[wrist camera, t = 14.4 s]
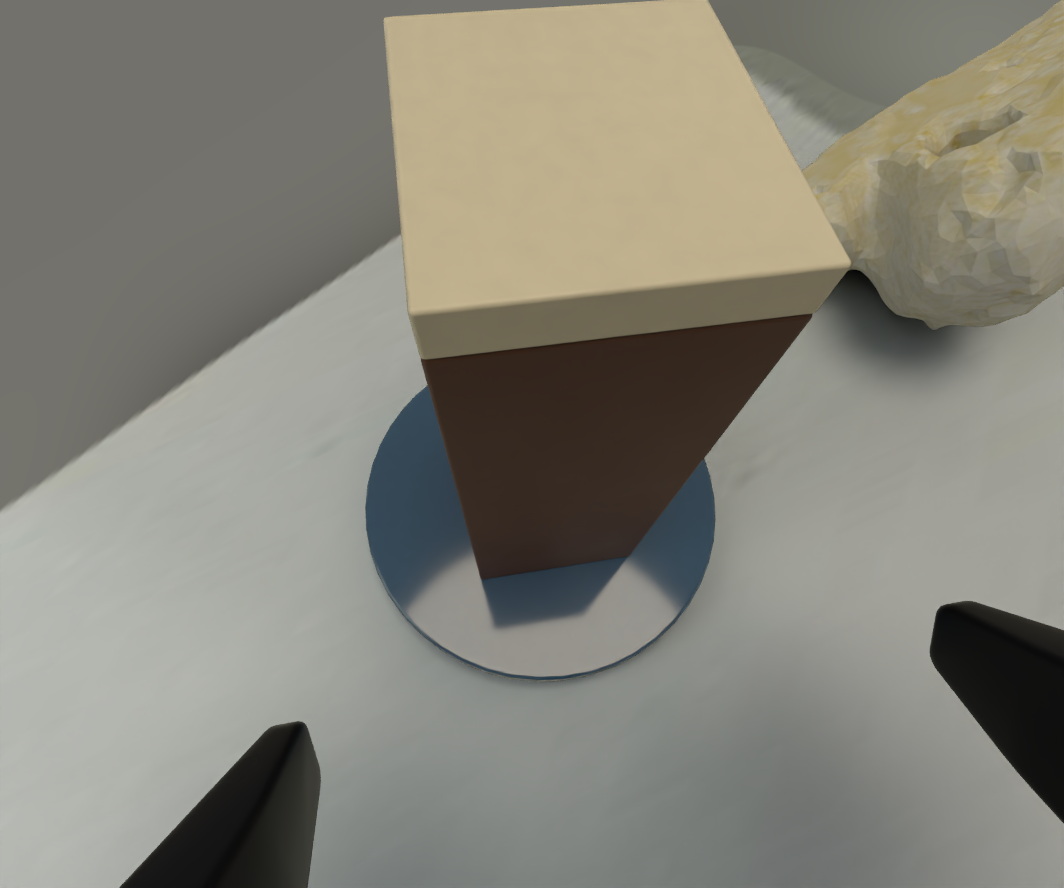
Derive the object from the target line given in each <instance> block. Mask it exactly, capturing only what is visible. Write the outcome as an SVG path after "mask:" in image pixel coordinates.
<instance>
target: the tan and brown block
mask: <svg viewBox="0 0 1064 888" xmlns="http://www.w3.org/2000/svg"><path fill="white" fill-rule="evenodd" d="M384 34H385V45H386V58H387V69H388V81H389V93H390V105H391V116H392V129H393V140H394V153H395V165H396V175H397V188H398V200H399V212H400V224H401V236H402V248H403V260H404V272H405V284H406V295H407V307H408V315H409V319H410V322H411V326H412V330H413V333H414V337H415V341H416V344H417V348H418V352H419V355H420V357H421V362H422V366H423V370H424V373H425V377H426V381H427V384H428V388H429V392H430V395H431V399H432V403H433V406H434V410H435V414H436V417H437V421H438V425H439V428H440V432H441V436H442V439H443V443H444V447H445V450H446V454H447V458H448V461H449V465H450V469H451V472H452V476H453V480H454V483H455V487H456V491H457V494H458V498H459V502H460V505H461V509H462V513H463V516H464V520H465V524H466V527H467V531H468V535H469V538H470V542H471V546H472V549H473V553H474V557H475V560H476V564H477V567H478V571H479V575H480V578H481V579H489V578H495V577H502V576H508V575H514V574H520V573H527V572H533V571H539V570H545V569H552V568H558V567H564V566H570V565H577V564H583V563H589V562H596V561H602V560H608V559H614V558H621V557H627V556H630V554H631V553H632V552H633V550H634V549H635V548H636V546H637V545H638V544H639V543H640V541H641V540H642V539H643V537H644V536H645V535H646V533H647V532H648V531H649V530H650V528H651V527H652V526H653V524H654V523H655V522H656V520H657V519H658V518H659V516H660V515H661V514H662V513H663V511H664V510H665V509H666V507H667V506H668V505H669V503H670V502H671V501H672V499H673V498H674V497H675V496H676V494H677V493H678V492H679V490H680V489H681V488H682V486H683V485H684V484H685V482H686V481H687V480H688V479H689V477H690V476H691V475H692V473H693V472H694V471H695V469H696V468H697V467H698V465H699V464H700V463H701V462H702V460H703V459H704V458H705V456H706V455H707V454H708V452H709V451H710V450H711V448H712V447H713V446H714V445H715V443H716V442H717V441H718V439H719V438H720V437H721V435H722V434H723V433H724V432H725V430H726V429H727V428H728V426H729V425H730V424H731V422H732V421H733V420H734V418H735V417H736V416H737V415H738V413H739V412H740V411H741V409H742V408H743V407H744V405H745V404H746V403H747V401H748V400H749V399H750V398H751V396H752V395H753V394H754V392H755V391H756V390H757V388H758V387H759V386H760V384H761V383H762V382H763V381H764V379H765V378H766V377H767V375H768V374H769V373H770V371H771V370H772V369H773V367H774V366H775V365H776V364H777V362H778V361H779V360H780V358H781V357H782V356H783V354H784V353H785V352H786V350H787V349H788V348H789V347H790V345H791V344H792V343H793V341H794V340H795V339H796V337H797V336H798V335H799V334H800V332H801V331H802V330H803V328H804V327H805V326H806V324H807V323H808V322H809V320H810V319H811V318H812V313H814V312H816V311H817V310H818V309H819V307H820V306H821V305H822V304H823V302H824V301H825V300H826V298H827V297H828V296H829V294H830V293H831V292H832V290H833V289H834V288H835V287H836V285H837V284H838V283H839V281H840V280H841V279H842V277H843V276H844V275H845V273H846V272H847V271H848V270H849V268H850V267H851V260H850V259H849V257H848V255H847V253H846V251H845V250H844V248H843V246H842V244H841V242H840V240H839V239H838V237H837V235H836V233H835V231H834V229H833V228H832V226H831V224H830V222H829V220H828V219H827V217H826V215H825V213H824V211H823V209H822V208H821V206H820V204H819V202H818V200H817V198H816V197H815V195H814V193H813V191H812V189H811V188H810V186H809V184H808V182H807V180H806V178H805V177H804V175H803V173H802V171H801V169H800V167H799V166H798V164H797V162H796V160H795V158H794V157H793V155H792V153H791V151H790V149H789V147H788V146H787V144H786V142H785V140H784V138H783V136H782V135H781V133H780V131H779V129H778V127H777V126H776V124H775V122H774V120H773V118H772V116H771V115H770V113H769V111H768V109H767V107H766V106H765V104H764V102H763V100H762V98H761V96H760V95H759V93H758V91H757V89H756V87H755V85H754V84H753V82H752V80H751V78H750V76H749V75H748V73H747V71H746V69H745V67H744V65H743V64H742V62H741V60H740V58H739V56H738V54H737V53H736V51H735V49H734V47H733V45H732V44H731V42H730V40H729V38H728V36H727V34H726V33H725V31H724V29H723V27H722V25H721V24H720V22H719V20H718V18H717V16H716V14H715V13H714V11H713V9H712V7H711V5H710V4H709V2H708V0H665V1H648V2H631V3H616V4H615V3H614V4H597V5H580V6H563V7H547V8H531V9H530V8H529V9H513V10H497V11H479V12H462V13H445V14H429V15H411V16H395V17H386V18H385V19H384Z"/></svg>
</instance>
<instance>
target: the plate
mask: <svg viewBox="0 0 1064 888" xmlns="http://www.w3.org/2000/svg"><path fill="white" fill-rule="evenodd" d="M365 510H366V531H367V536H368V541H369V547H370V552H371V555H372V558H373V561H374V564H375V567H376V570H377V573H378V575H379V577H380V579H381V581H382V583H383V585H384V587H385V589H386V591H387V593H388V595H389V596H390V598H391V599H392V601H393V602H394V603H395V605H396V606H397V608H398V609H399V610H400V612H401V613H402V615H403V616H404V617H405V618H406V619H407V620H408V621H409V622H410V623H411V624H412V625H413V626H414V627H415V629H416V630H417V631H418V632H419V633H420V634H422V635H423V636H424V637H425V638H427V639H428V640H429V641H430V642H432V643H433V644H434V645H435V646H437V647H438V648H439V649H441V650H442V651H443V652H445V653H446V654H448V655H450V656H452V657H453V658H455V659H457V660H458V661H460V662H462V663H464V664H465V665H468V666H470V667H473V668H475V669H478V670H480V671H483V672H485V673H488V674H491V675H495V676H499V677H504V678H508V679H512V680H521V681H531V682H550V681H564V680H570V679H575V678H580V677H586V676H588V675H591V674H594V673H597V672H600V671H603V670H606V669H609V668H611V667H614V666H616V665H618V664H620V663H622V662H624V661H626V660H628V659H630V658H632V657H634V656H636V655H637V654H639V653H640V652H641V651H643V650H644V649H646V648H647V647H648V646H650V645H651V644H653V643H654V642H655V641H657V640H658V639H659V638H660V637H661V636H662V635H663V634H664V633H665V632H666V631H667V630H668V629H669V628H670V627H671V626H672V625H673V624H675V622H676V621H677V620H678V618H679V617H680V616H681V614H682V613H683V612H684V611H685V609H686V608H687V607H688V605H689V604H690V602H691V600H692V599H693V597H694V595H695V593H696V591H697V590H698V588H699V586H700V584H701V582H702V579H703V576H704V574H705V571H706V569H707V566H708V563H709V559H710V555H711V550H712V546H713V542H714V530H715V504H714V494H713V489H712V484H711V479H710V475H709V472H708V469H707V466H706V463H705V460H704V459H703V460H702V462H701V463H700V464H699V465H698V467H697V468H696V469H695V471H694V472H693V473H692V475H691V476H690V477H689V479H688V480H687V481H686V482H685V484H684V485H683V486H682V488H681V489H680V490H679V492H678V493H677V494H676V496H675V497H674V498H673V499H672V501H671V502H670V503H669V505H668V506H667V507H666V509H665V510H664V511H663V513H662V514H661V515H660V516H659V518H658V519H657V520H656V522H655V523H654V524H653V526H652V527H651V528H650V530H649V531H648V532H647V533H646V535H645V536H644V537H643V539H642V540H641V541H640V543H639V544H638V545H637V546H636V548H635V549H634V550H633V552H632V553H631V554H630V556H627V557H621V558H614V559H608V560H602V561H596V562H589V563H583V564H577V565H570V566H564V567H558V568H552V569H545V570H539V571H533V572H527V573H520V574H514V575H508V576H502V577H495V578H489V579H481V578H480V575H479V571H478V567H477V564H476V560H475V557H474V553H473V549H472V546H471V542H470V538H469V535H468V531H467V527H466V524H465V520H464V516H463V513H462V509H461V505H460V502H459V498H458V494H457V491H456V487H455V483H454V480H453V476H452V472H451V469H450V465H449V461H448V458H447V454H446V450H445V447H444V443H443V439H442V436H441V432H440V428H439V425H438V421H437V417H436V414H435V410H434V406H433V403H432V399H431V395H430V392H429V388H428V386H427V387H425V388H424V389H423V390H422V391H421V392H419V393H418V394H417V395H416V396H415V397H414V398H413V399H412V400H411V401H410V402H409V403H408V404H407V405H406V407H405V408H404V409H403V410H402V411H401V412H400V414H399V415H398V417H397V418H396V419H395V421H394V422H393V423H392V425H391V426H390V428H389V430H388V432H387V433H386V435H385V437H384V439H383V441H382V443H381V444H380V447H379V449H378V452H377V454H376V457H375V460H374V462H373V465H372V469H371V473H370V477H369V481H368V486H367V496H366V506H365Z"/></svg>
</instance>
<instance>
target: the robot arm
mask: <svg viewBox="0 0 1064 888" xmlns="http://www.w3.org/2000/svg"><path fill="white" fill-rule="evenodd" d="M930 657H931V660H932V662H933V664H934V666H935V668H936V669H937V671H938V672H939V673H940V675H941V676H942V677H943V678H944V680H945V681H946V682H947V684H948V685H949V686H950V687H951V689H952V690H953V691H954V692H955V694H956V695H957V696H958V698H959V699H960V700H961V701H962V703H963V704H964V705H965V707H966V708H967V709H968V710H969V712H970V713H971V714H972V715H973V717H974V718H975V719H976V721H977V722H978V723H979V724H980V726H981V727H982V728H983V730H984V731H985V732H986V733H987V735H988V736H989V737H990V738H991V740H992V741H993V742H994V744H995V745H996V746H997V747H998V749H999V750H1000V751H1001V753H1002V754H1003V755H1004V756H1005V757H1006V759H1007V760H1008V761H1009V762H1010V764H1011V765H1012V766H1013V767H1014V769H1015V770H1016V771H1017V772H1018V773H1019V774H1020V776H1021V777H1022V778H1023V779H1024V780H1025V781H1026V782H1027V783H1028V785H1029V786H1030V787H1031V788H1032V789H1033V790H1034V791H1035V792H1036V794H1037V795H1038V796H1039V797H1040V798H1041V799H1042V800H1043V801H1044V802H1045V803H1046V805H1047V806H1048V807H1049V808H1050V809H1051V810H1052V811H1053V812H1054V813H1055V814H1056V816H1057V817H1058V818H1059V819H1060V820H1061V821H1062V822H1063V823H1064V630H1061V629H1058V628H1055V627H1051V626H1048V625H1045V624H1042V623H1039V622H1036V621H1033V620H1030V619H1026V618H1023V617H1020V616H1017V615H1014V614H1011V613H1008V612H1005V611H1001V610H998V609H995V608H992V607H989V606H986V605H983V604H980V603H977V602H973V601H962V602H956V603H951V604H946V605H943V606H941V607H940V608H939V609H938V610H937V613H936V617H935V622H934V628H933V634H932V639H931V645H930ZM320 784H321V776H320V767H319V763H318V760H317V757H316V754H315V750H314V747H313V744H312V741H311V737H310V734H309V731H308V728H307V726H306V725H305V723H303V722H300V721H297V722H291V723H286V724H280V725H275V726H272V727H270V728H269V729H268V730H266V731H265V732H264V733H263V734H262V736H261V737H260V738H259V739H258V740H257V741H256V742H255V743H254V744H253V745H252V746H251V747H250V748H249V749H248V751H247V752H246V753H245V754H244V755H243V756H242V757H241V758H240V759H239V760H238V761H237V762H236V763H235V764H234V766H233V767H232V768H231V769H230V770H229V771H228V772H227V773H226V774H225V775H224V776H223V777H222V778H221V779H220V780H219V782H218V783H217V784H216V785H215V786H214V787H213V788H212V789H211V790H210V791H209V792H208V793H207V794H206V795H205V797H204V798H203V799H202V800H201V801H200V802H199V803H198V804H197V805H196V806H195V807H194V808H193V809H192V810H191V812H190V813H189V814H188V815H187V816H186V817H185V818H184V819H183V820H182V821H181V822H180V823H179V824H178V825H177V827H176V828H175V829H174V830H173V831H172V832H171V833H170V834H169V835H168V836H167V837H166V838H165V839H164V840H163V841H162V843H161V844H160V845H159V846H158V847H157V848H156V849H155V850H154V851H153V852H152V853H151V854H150V855H149V856H148V858H147V859H146V860H145V861H144V862H143V863H142V864H141V865H140V866H139V867H138V868H137V869H136V870H135V871H134V873H133V874H132V875H131V876H130V877H129V878H128V879H127V880H126V881H125V882H124V883H123V884H122V885H121V886H120V888H308V880H309V872H310V864H311V856H312V849H313V841H314V833H315V825H316V817H317V809H318V801H319V794H320Z"/></svg>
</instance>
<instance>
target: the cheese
mask: <svg viewBox="0 0 1064 888" xmlns="http://www.w3.org/2000/svg"><path fill="white" fill-rule="evenodd" d="M802 173H803V175H804V177H805V178H806V180H807V182H808V184H809V186H810V188H811V189H812V191H813V193H814V195H815V197H816V198H817V200H818V202H819V204H820V206H821V208H822V209H823V211H824V213H825V215H826V217H827V219H828V220H829V222H830V224H831V226H832V228H833V229H834V231H835V233H836V235H837V237H838V239H839V240H840V242H841V244H842V246H843V248H844V250H845V251H846V253H847V255H848V257H849V259H850V260H851V267H850V268H849V270H852V269H853V270H859V271H861V272H862V273H864V274H865V275H866V276H867V277H868V278H869V279H870V281H871V282H872V283H873V285H874V286H875V288H876V289H877V291H878V292H879V294H880V296H881V298H882V300H883V302H884V303H885V304H886V305H887V306H888V308H889V309H891V310H892V311H893V312H894V313H895V314H896V315H900V316H903V317H907V318H916V319H920V320H924V322H925V323H926V325H927V326H928V327H930V328H931V329H933V330H935V329H938V328H940V327H943V326H947V325H961V326H975V327H980V326H990V325H996V324H998V323H1001V322H1003V321H1006V320H1009V319H1011V318H1014V317H1017V316H1021V315H1023V314H1026V313H1028V312H1030V311H1031V310H1032V309H1033V308H1035V307H1036V306H1037V305H1038V304H1040V303H1041V302H1042V301H1044V300H1045V299H1047V298H1048V297H1050V296H1051V295H1052V294H1054V293H1055V292H1057V291H1058V290H1059V289H1060V288H1062V287H1063V286H1064V0H1062V1H1060V2H1058V3H1057V4H1055V5H1054V6H1052V7H1051V8H1050V9H1049V10H1048V11H1047V12H1046V13H1045V14H1044V15H1043V16H1042V17H1040V18H1038V19H1036V20H1034V21H1032V22H1031V23H1029V24H1028V25H1026V26H1025V27H1023V28H1022V29H1020V30H1019V31H1018V32H1016V33H1015V34H1013V35H1012V36H1010V37H1009V38H1008V39H1006V40H1005V41H1004V42H1002V43H1001V44H999V45H998V46H996V47H994V48H993V49H991V50H989V51H987V52H985V53H983V54H981V55H979V56H978V57H976V58H974V59H973V60H971V61H969V62H968V63H966V64H965V65H963V66H961V67H960V68H958V69H957V70H955V71H954V72H952V73H951V74H950V75H946V76H943V77H940V78H936V79H933V80H931V81H929V82H927V83H926V84H924V85H922V86H921V87H919V88H918V89H916V90H914V91H912V92H910V93H908V94H906V95H905V96H904V97H902V98H901V99H900V100H899V101H897V102H896V103H895V104H893V105H891V106H890V107H888V108H886V109H885V110H883V111H882V112H880V113H879V114H877V115H876V116H874V117H873V118H871V119H870V120H868V121H867V122H865V123H864V124H863V125H861V126H860V127H858V128H857V129H856V130H854V131H852V132H850V133H848V134H846V135H843V136H842V137H841V138H840V139H839V140H837V141H836V142H835V143H834V144H833V145H831V146H830V147H829V148H828V149H827V150H825V151H824V152H823V153H822V154H820V156H819V157H818V159H817V160H816V161H815V162H814V163H812V164H811V165H809V166H808V167H806V168H805V169H803V170H802ZM849 270H848V271H849Z"/></svg>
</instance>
